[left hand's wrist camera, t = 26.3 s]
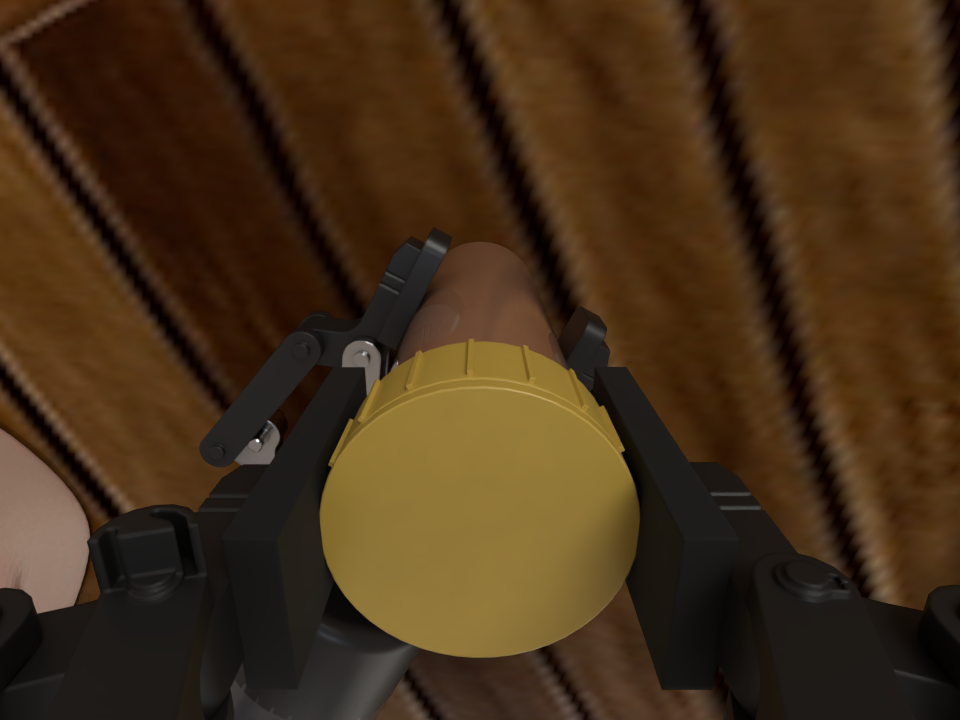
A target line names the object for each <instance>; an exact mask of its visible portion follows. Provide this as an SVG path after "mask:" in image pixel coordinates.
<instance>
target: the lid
mask: <svg viewBox="0 0 960 720" xmlns="http://www.w3.org/2000/svg"><path fill="white" fill-rule="evenodd" d="M623 451H625V449H624V447H623V445H622V443H621V441H620V439H619V437H618V434H617V432H616V430H615V428H614V426H613V424H612V422H611V420H610V418H609V415H608V413H607V411H606V409H605V407H604V406H601V407H599V405H598V404H597V402H596V400H595V399H594V397H593V396H592V395H591V393H590V392H589V391H588V390H587V388H586V387H585V386H584V385H583V384H582V383H581V382H580V381H579V380H578V379H577V377H576V374H575V372H574V371H573V370H572V369H571V368H570V369H569V370H566V369H565V368H563V367H562V366H561V365H559V364H558V363H556V362H555V361H553V360H551V359H549V358H547V357H545V356H543V355H541V354H539V353H536V352H533V351H531V350H529V348H528V346H526V345H523V346H522V347H518V346H514V345H509V344H505V343H496V342H485V341H484V342H474V339H469V340H468V342H463V343H456V344H450V345H445V346H442V347H438V348H435V349H431V350H428V351H426V352H424V353H422V352H421V350H420V351H418V352H416V354H415V357H412V358H411V359H409V360H407V361H406V362H404V363H402V364H401V365H399V366H397V367H396V368H395V369H394V370H392V371H391V372H390V373H389V374H387V375H386V376H385V377H384V378H383V379H382V380H381V381H379V380H378V379H376V380H375V381H374V383H373V385H372V387H371V390H370V392H369V394H368V396H367V397H366V399H365V400H364V401H363V403H362V405H361V406H360V408H359V410H358V412H357V414H356V416H355V418H354V420H353V419H349V422H348V424H347V426H346V428H345V430H344V432H343V434H342V436H341V438H340V440H339V443H338V445H337V447H336V449H335V451H334V453H333V455H332V457H331V459H330V461H329V464H328V466H330V467H332V468H331V470H330V472H329V475H328V477H327V480H326V483H325V486H324V489H323V492H322V497H321V503H320V509H319V515H320V526H321V535H322V544H323V552H324V556H325V560H326V563H327V566H328V568H329V570H330V572H331V574H332V576H333V578H334V580H335V582H336V583H337V585H338V586H339V588H340V589H341V591H342V592H343V594H344V595H345V597H346V598H347V599H348V600H349V601H350V602H351V604H352V605H353V606H354V607H355V608H356V609H357V610H358V611H359V612H360V613H361V614H362V615H364V616H365V617H366V618H367V619H368V620H369V621H370V622H372V623H373V624H375V625H376V626H378V627H379V628H380V629H382V630H383V631H385V632H387V633H388V634H390V635H392V636H394V637H396V638H398V639H399V640H401V641H404V642H406V643H409V644H411V645H414V646H416V647H419V648H422V649H425V650H429V651H432V652H436V653H441V654H446V655H452V656H459V657H472V658H483V657H500V656H508V655H515V654H519V653H523V652H528V651H532V650H535V649H538V648H541V647H544V646H546V645H549V644H551V643H554V642H556V641H558V640H560V639H562V638H564V637H566V636H568V635H570V634H571V633H573V632H575V631H576V630H578V629H580V628H581V627H583V626H584V625H585V624H586V623H588V622H589V621H590V620H592V619H593V618H594V617H595V616H597V615H598V614H599V613H600V612H601V611H602V610H603V609H604V608H605V607H606V606H607V605H608V604H609V603H610V601H611V600H612V599H613V597H614V596H615V595H616V593H617V592H618V591H619V589H620V588H621V586H622V585H623V583H624V581H625V579H626V578H627V576H628V574H629V572H630V569H631V567H632V564H633V562H634V559H635V557H636V550H637V542H638V533H639V523H640V503H639V499H638V495H637V490H636V486H635V483H634V481H633V479H632V476H631V474H630V471H629V469H628V467H627V465H626V462H625V460H624V458H623V456H622V454H621V452H623Z"/></svg>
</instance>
